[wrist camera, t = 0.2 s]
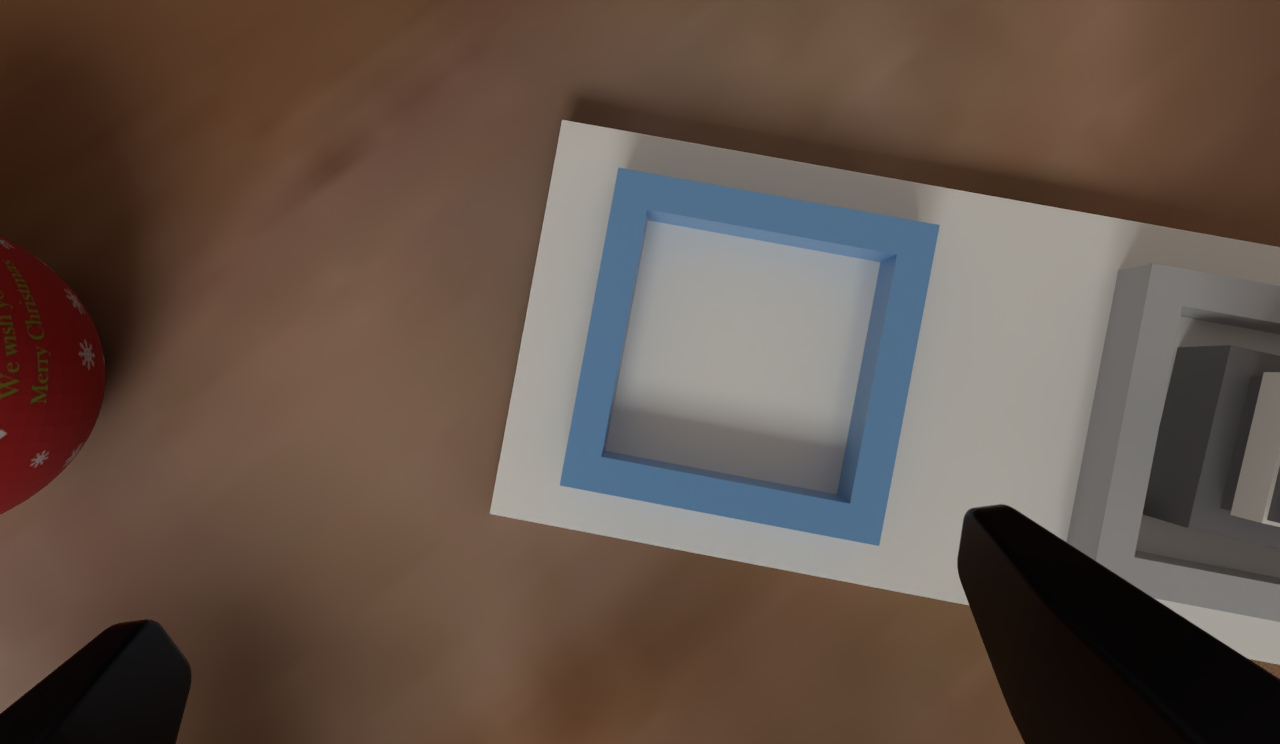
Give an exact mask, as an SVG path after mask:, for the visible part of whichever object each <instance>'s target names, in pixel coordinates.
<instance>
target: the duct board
mask: <svg viewBox="0 0 1280 744" xmlns="http://www.w3.org/2000/svg"><path fill="white" fill-rule="evenodd" d="M1221 345H1233V346H1237V347H1242V348H1246V349H1251V350H1255V351H1260V352H1264V353H1269V354H1273V355H1278V356H1280V247H1276V246H1270V245H1265V244H1259V243H1253V242H1248V241H1242V240H1236V239H1231V238H1225V237H1220V236H1214V235H1208V234H1203V233H1197V232H1191V231H1186V230H1180V229H1175V228H1169V227H1163V226H1158V225H1152V224H1146V223H1141V222H1135V221H1130V220H1124V219H1118V218H1113V217H1107V216H1101V215H1096V214H1090V213H1084V212H1079V211H1073V210H1068V209H1062V208H1056V207H1051V206H1045V205H1039V204H1034V203H1028V202H1023V201H1017V200H1011V199H1006V198H1000V197H994V196H989V195H983V194H978V193H972V192H966V191H961V190H955V189H949V188H944V187H938V186H932V185H927V184H921V183H916V182H910V181H904V180H899V179H893V178H887V177H882V176H876V175H871V174H865V173H859V172H854V171H848V170H842V169H837V168H831V167H826V166H820V165H814V164H809V163H803V162H797V161H792V160H786V159H781V158H775V157H769V156H764V155H758V154H752V153H747V152H741V151H735V150H730V149H724V148H719V147H713V146H707V145H702V144H696V143H690V142H685V141H679V140H674V139H668V138H662V137H657V136H651V135H645V134H640V133H634V132H629V131H623V130H617V129H612V128H606V127H600V126H595V125H589V124H583V123H578V122H572V121H567V120H562V123H561V129H560V134H559V140H558V145H557V151H556V156H555V162H554V167H553V172H552V178H551V183H550V189H549V194H548V200H547V205H546V210H545V216H544V221H543V227H542V232H541V238H540V243H539V249H538V254H537V259H536V265H535V270H534V276H533V281H532V287H531V292H530V297H529V303H528V308H527V314H526V319H525V325H524V330H523V336H522V341H521V346H520V352H519V357H518V363H517V368H516V374H515V379H514V384H513V390H512V395H511V401H510V406H509V412H508V417H507V423H506V428H505V433H504V439H503V444H502V450H501V455H500V461H499V466H498V472H497V477H496V482H495V488H494V493H493V499H492V504H491V510H490V514H494V515H499V516H504V517H509V518H515V519H520V520H525V521H530V522H536V523H541V524H546V525H551V526H556V527H562V528H567V529H572V530H577V531H583V532H588V533H593V534H598V535H604V536H609V537H614V538H619V539H624V540H630V541H635V542H640V543H645V544H651V545H656V546H661V547H666V548H672V549H677V550H682V551H687V552H692V553H698V554H703V555H708V556H713V557H719V558H724V559H729V560H734V561H740V562H745V563H750V564H755V565H760V566H766V567H771V568H776V569H781V570H787V571H792V572H797V573H802V574H808V575H813V576H818V577H823V578H829V579H834V580H839V581H844V582H849V583H855V584H860V585H865V586H870V587H876V588H881V589H886V590H891V591H897V592H902V593H907V594H912V595H917V596H923V597H928V598H933V599H938V600H944V601H949V602H954V603H959V604H965V605H969V603H968V600H967V598H966V595H965V592H964V590H963V587H962V584H961V581H960V578H959V574H958V568H957V557H958V551H959V544H960V538H961V531H962V525H963V519H964V515H965V513H966V512H967V511H968V510H969V509H971V508H975V507H982V506H989V505H997V504H1004V505H1008V506H1010V507H1012V508H1014V509H1016V510H1017V511H1019V512H1020V513H1022V514H1023V515H1025V516H1027V517H1028V518H1030V519H1031V520H1033V521H1034V522H1036V523H1037V524H1039V525H1041V526H1042V527H1044V528H1045V529H1047V530H1048V531H1050V532H1051V533H1053V534H1055V535H1056V536H1058V537H1059V538H1061V539H1062V540H1064V541H1066V542H1067V543H1069V544H1070V545H1072V546H1073V547H1075V548H1076V549H1078V550H1080V551H1081V552H1083V553H1084V554H1086V555H1087V556H1089V557H1090V558H1092V559H1094V560H1095V561H1097V562H1098V563H1100V564H1101V565H1103V566H1104V567H1106V568H1108V569H1109V570H1111V571H1112V572H1114V573H1115V574H1117V575H1118V576H1120V577H1122V578H1123V579H1125V580H1126V581H1128V582H1129V583H1131V584H1132V585H1134V586H1136V587H1137V588H1139V589H1140V590H1142V591H1143V592H1145V593H1146V594H1148V595H1150V596H1151V597H1153V598H1154V599H1156V600H1157V601H1159V602H1160V603H1162V604H1164V605H1165V606H1167V607H1168V608H1170V609H1171V610H1173V611H1174V612H1176V613H1178V614H1179V615H1181V616H1182V617H1184V618H1185V619H1187V620H1188V621H1190V622H1192V623H1193V624H1195V625H1196V626H1198V627H1199V628H1201V629H1202V630H1204V631H1206V632H1207V633H1209V634H1210V635H1212V636H1213V637H1215V638H1216V639H1218V640H1220V641H1221V642H1223V643H1224V644H1226V645H1227V646H1229V647H1230V648H1232V649H1234V650H1235V651H1237V652H1238V653H1240V654H1241V655H1243V656H1244V657H1246V658H1248V659H1252V660H1258V661H1263V662H1268V663H1273V664H1278V665H1280V549H1277V548H1273V547H1269V546H1264V545H1260V544H1256V543H1251V542H1247V541H1242V540H1238V539H1234V538H1229V537H1225V536H1221V535H1216V534H1212V533H1207V532H1203V531H1199V530H1194V529H1190V528H1186V527H1183V526H1179V525H1176V524H1173V523H1169V522H1166V521H1163V520H1159V519H1156V518H1153V517H1149V516H1146V515H1143V509H1144V504H1145V498H1146V493H1147V488H1148V483H1149V478H1150V472H1151V467H1152V462H1153V457H1154V451H1155V446H1156V441H1157V436H1158V430H1159V425H1160V421H1161V417H1162V412H1163V408H1164V404H1165V400H1166V395H1167V391H1168V387H1169V383H1170V378H1171V374H1172V370H1173V365H1174V361H1175V357H1176V353H1177V348H1178V347H1198V346H1221Z"/></svg>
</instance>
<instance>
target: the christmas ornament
mask: <svg viewBox="0 0 1280 744" xmlns="http://www.w3.org/2000/svg"><path fill="white" fill-rule="evenodd" d="M105 378H106V375H105V360H104V354H103V349H102V345H101V341H100V338H99V335H98V332H97V329H96V327H95V325H94V322H93V320H92V318H91V316H90V315H89V313H88V311H87V309H86V308H85V306H84V305H83V303H82V302H81V301H80V299H79V298H78V296H77V295H76V294H75V292H74V291H73V290H72V289H71V288H70V286H69V285H68V284H67V283H66V282H65V281H64V280H63V279H62V278H61V277H60V276H59V275H58V274H57V273H56V272H54V271H53V270H52V269H51V268H50V267H49V266H48V265H46V264H45V263H44V262H42V261H41V260H40V259H38V258H37V257H36V256H34V255H33V254H31V253H30V252H28V251H27V250H25V249H23V248H22V247H20V246H19V245H17V244H15V243H13V242H11V241H9V240H7V239H5V238H3V237H1V236H0V514H2V513H4V512H6V511H8V510H10V509H12V508H13V507H15V506H17V505H19V504H20V503H22V502H24V501H25V500H27V499H28V498H30V497H31V496H33V495H34V494H36V493H37V492H38V491H40V490H41V489H42V488H44V487H45V486H47V485H48V484H49V483H50V482H51V481H52V480H53V479H55V478H56V477H57V476H58V475H59V474H60V473H61V472H62V471H63V470H64V469H65V468H66V467H67V466H68V465H69V463H70V462H71V461H72V460H73V459H74V458H75V456H76V455H77V454H78V452H79V451H80V450H81V448H82V447H83V445H84V444H85V442H86V440H87V439H88V437H89V435H90V434H91V432H92V429H93V427H94V425H95V423H96V420H97V418H98V415H99V412H100V409H101V405H102V401H103V396H104V390H105Z"/></svg>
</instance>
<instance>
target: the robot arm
mask: <svg viewBox="0 0 1280 744" xmlns="http://www.w3.org/2000/svg"><path fill="white" fill-rule="evenodd" d="M957 568H958V574H959V578H960V581H961V584H962V587H963V590H964V592H965V595H966V598H967V600H968V603H969V606H970V608H971V611H972V614H973V616H974V619H975V622H976V624H977V627H978V629H979V632H980V635H981V637H982V640H983V643H984V645H985V648H986V651H987V653H988V656H989V659H990V661H991V664H992V667H993V669H994V672H995V675H996V677H997V680H998V683H999V685H1000V688H1001V690H1002V693H1003V696H1004V698H1005V701H1006V703H1007V705H1008V708H1009V710H1010V713H1011V715H1012V717H1013V720H1014V722H1015V724H1016V726H1017V728H1018V730H1019V732H1020V734H1021V736H1022V739H1023V740H1024V742H1025V744H1280V679H1279V678H1277V677H1276V676H1274V675H1272V674H1271V673H1269V672H1268V671H1266V670H1265V669H1263V668H1262V667H1260V666H1258V665H1257V664H1255V663H1254V662H1252V661H1251V660H1249V659H1248V658H1246V657H1244V656H1243V655H1241V654H1240V653H1238V652H1237V651H1235V650H1234V649H1232V648H1230V647H1229V646H1227V645H1226V644H1224V643H1223V642H1221V641H1220V640H1218V639H1216V638H1215V637H1213V636H1212V635H1210V634H1209V633H1207V632H1206V631H1204V630H1202V629H1201V628H1199V627H1198V626H1196V625H1195V624H1193V623H1192V622H1190V621H1188V620H1187V619H1185V618H1184V617H1182V616H1181V615H1179V614H1178V613H1176V612H1174V611H1173V610H1171V609H1170V608H1168V607H1167V606H1165V605H1164V604H1162V603H1160V602H1159V601H1157V600H1156V599H1154V598H1153V597H1151V596H1150V595H1148V594H1146V593H1145V592H1143V591H1142V590H1140V589H1139V588H1137V587H1136V586H1134V585H1132V584H1131V583H1129V582H1128V581H1126V580H1125V579H1123V578H1122V577H1120V576H1118V575H1117V574H1115V573H1114V572H1112V571H1111V570H1109V569H1108V568H1106V567H1104V566H1103V565H1101V564H1100V563H1098V562H1097V561H1095V560H1094V559H1092V558H1090V557H1089V556H1087V555H1086V554H1084V553H1083V552H1081V551H1080V550H1078V549H1076V548H1075V547H1073V546H1072V545H1070V544H1069V543H1067V542H1066V541H1064V540H1062V539H1061V538H1059V537H1058V536H1056V535H1055V534H1053V533H1051V532H1050V531H1048V530H1047V529H1045V528H1044V527H1042V526H1041V525H1039V524H1037V523H1036V522H1034V521H1033V520H1031V519H1030V518H1028V517H1027V516H1025V515H1023V514H1022V513H1020V512H1019V511H1017V510H1016V509H1014V508H1012V507H1010V506H1008V505H1004V504H997V505H989V506H982V507H975V508H971V509H969V510H968V511H967V512H966V513H965V515H964V519H963V525H962V531H961V538H960V544H959V551H958V557H957ZM190 685H191V668H190V665H189V662H188V661H187V659H186V658H185V657H184V655H183V654H182V653H181V651H180V650H179V649H178V647H177V646H176V645H175V643H174V642H173V641H172V639H171V638H170V637H169V635H168V634H167V633H166V631H165V630H164V629H163V627H162V626H161V625H160V624H159V623H158V622H156V621H153V620H148V619H146V620H139V621H131V622H124V623H118V624H115V625H112V626H110V627H109V628H107V629H106V630H104V631H103V632H102V633H101V634H99V635H98V636H97V637H96V638H94V639H93V640H92V641H91V642H89V643H88V644H87V645H86V646H84V647H83V648H82V649H81V650H79V651H78V652H77V653H76V654H74V655H73V656H72V657H71V658H69V659H68V660H67V661H66V662H64V663H63V664H62V665H61V666H59V667H58V668H57V669H56V670H54V671H53V672H52V673H51V674H49V675H48V676H47V677H46V678H44V679H43V680H42V681H41V682H39V683H38V684H37V685H36V686H35V687H33V688H32V689H31V690H30V691H28V692H27V693H26V694H25V695H23V696H22V697H21V698H20V699H18V700H17V701H16V702H15V703H13V704H12V705H11V706H10V707H8V708H7V709H6V710H5V711H3V712H2V713H1V714H0V744H176V740H177V736H178V732H179V728H180V724H181V721H182V717H183V713H184V709H185V705H186V701H187V697H188V694H189V690H190Z"/></svg>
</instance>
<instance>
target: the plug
mask: <svg viewBox="0 0 1280 744" xmlns="http://www.w3.org/2000/svg"><path fill="white" fill-rule="evenodd" d="M1143 515H1146V516H1149V517H1153V518H1156V519H1159V520H1163V521H1166V522H1169V523H1173V524H1176V525H1179V526H1183V527H1186V528H1190V529H1194V530H1199V531H1203V532H1207V533H1212V534H1216V535H1221V536H1225V537H1229V538H1234V539H1238V540H1242V541H1247V542H1251V543H1256V544H1260V545H1264V546H1269V547H1273V548H1277V549H1280V356H1278V355H1273V354H1269V353H1264V352H1260V351H1255V350H1251V349H1246V348H1242V347H1237V346H1233V345H1221V346H1198V347H1178V348H1177V353H1176V357H1175V361H1174V365H1173V370H1172V374H1171V378H1170V383H1169V387H1168V391H1167V395H1166V400H1165V404H1164V408H1163V412H1162V417H1161V421H1160V425H1159V430H1158V436H1157V441H1156V446H1155V451H1154V457H1153V462H1152V467H1151V472H1150V478H1149V483H1148V488H1147V493H1146V498H1145V504H1144V509H1143Z"/></svg>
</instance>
